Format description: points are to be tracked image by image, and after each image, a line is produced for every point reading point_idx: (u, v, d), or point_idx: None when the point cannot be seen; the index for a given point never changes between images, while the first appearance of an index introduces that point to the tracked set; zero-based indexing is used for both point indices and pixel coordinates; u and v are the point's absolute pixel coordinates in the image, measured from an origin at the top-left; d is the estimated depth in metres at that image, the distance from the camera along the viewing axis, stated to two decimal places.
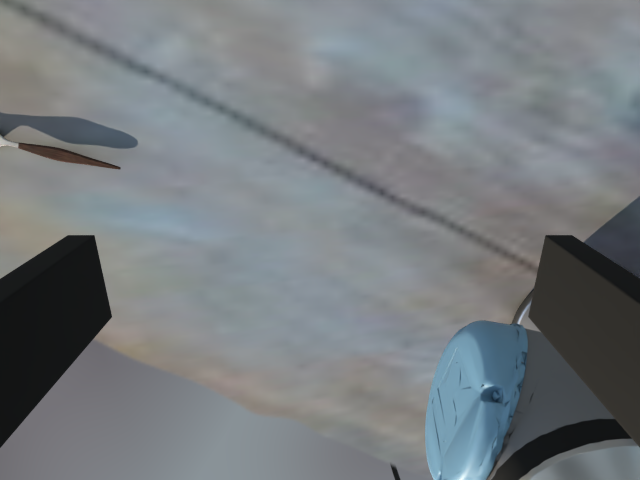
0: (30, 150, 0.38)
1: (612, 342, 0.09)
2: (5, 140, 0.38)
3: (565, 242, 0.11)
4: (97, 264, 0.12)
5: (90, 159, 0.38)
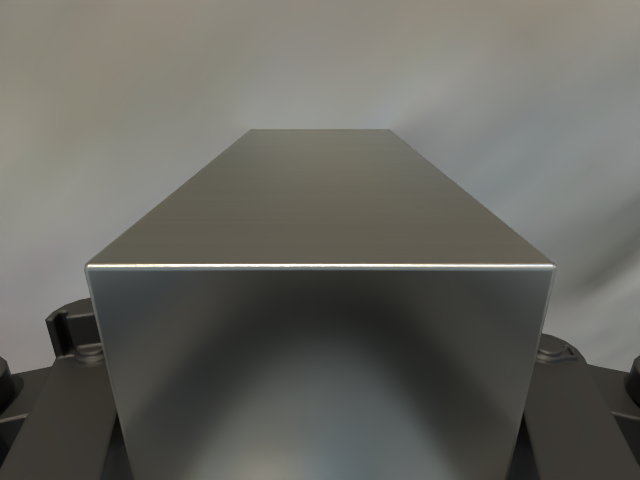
0: None
1: None
2: None
3: None
4: None
5: None
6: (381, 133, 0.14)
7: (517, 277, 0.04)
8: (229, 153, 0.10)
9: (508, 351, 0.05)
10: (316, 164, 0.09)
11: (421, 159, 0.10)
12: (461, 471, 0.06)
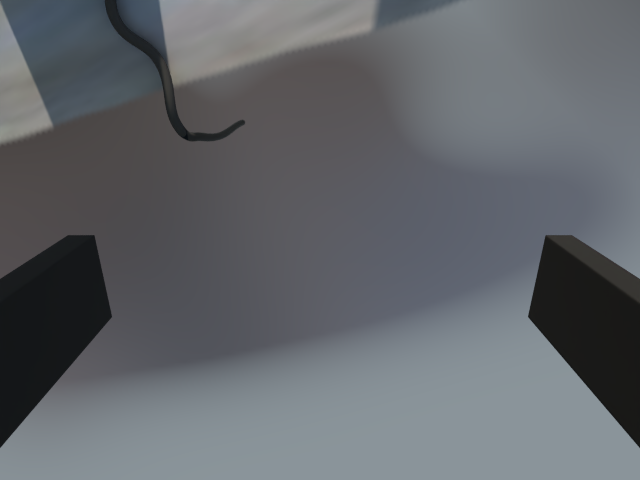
0: None
1: (612, 342, 0.09)
2: None
3: (565, 242, 0.11)
4: (97, 264, 0.12)
5: None
6: None
7: None
8: None
9: None
10: None
11: None
12: None
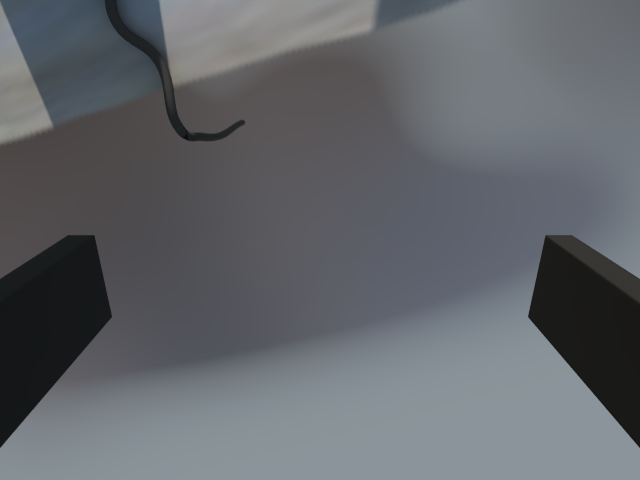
0: None
1: (612, 342, 0.09)
2: None
3: (565, 242, 0.11)
4: (97, 264, 0.12)
5: None
6: None
7: None
8: None
9: None
10: None
11: None
12: None
